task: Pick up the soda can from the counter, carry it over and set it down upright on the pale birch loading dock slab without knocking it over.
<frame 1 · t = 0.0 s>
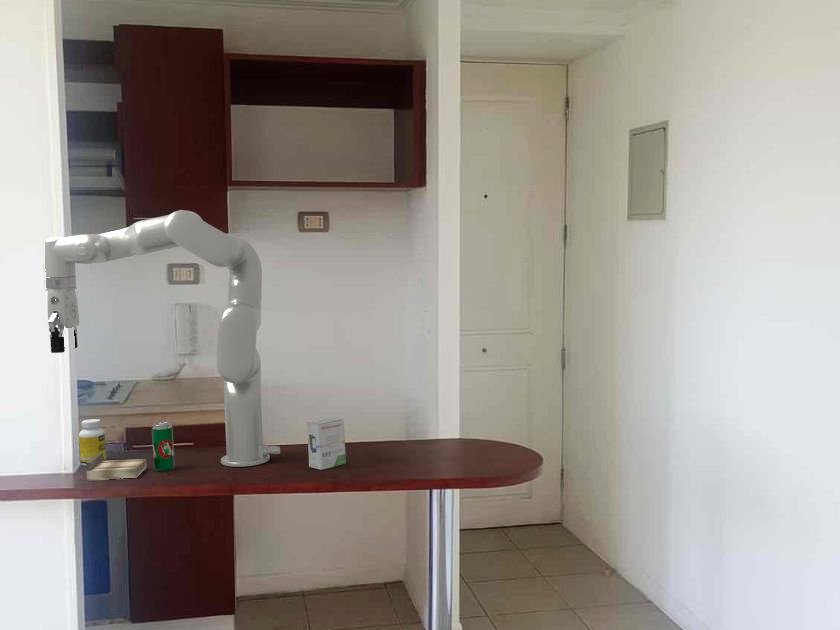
hand: (64, 350, 227), 31 cm above the countertop, fingers open, 9 cm apart
dock: (117, 474, 222), on the countertop
ink box: (327, 466, 225), on the countertop
soda can: (164, 470, 226), on the countertop
pill bottle: (93, 464, 235), on the countertop
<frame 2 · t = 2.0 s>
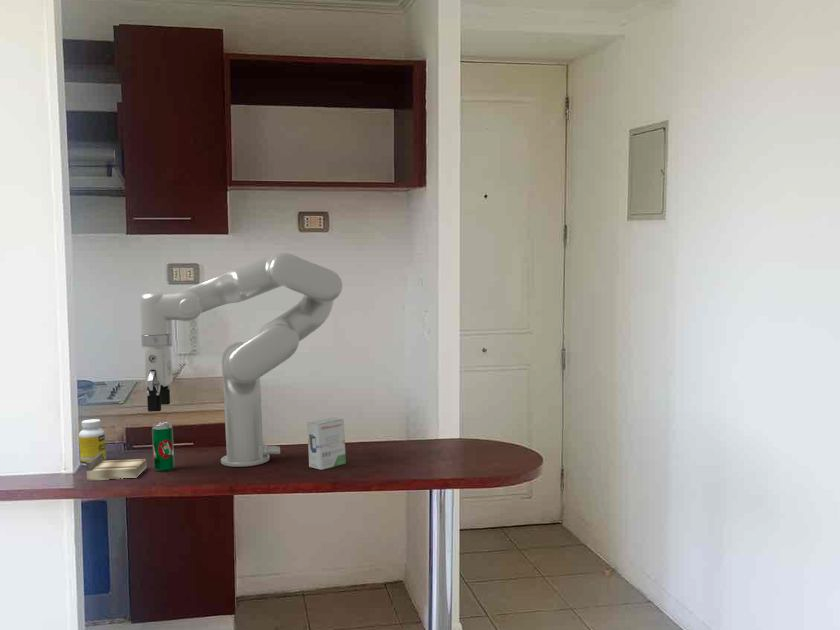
hand: (159, 407, 224), 16 cm above the countertop, fingers open, 9 cm apart
nothing on the countertop moved.
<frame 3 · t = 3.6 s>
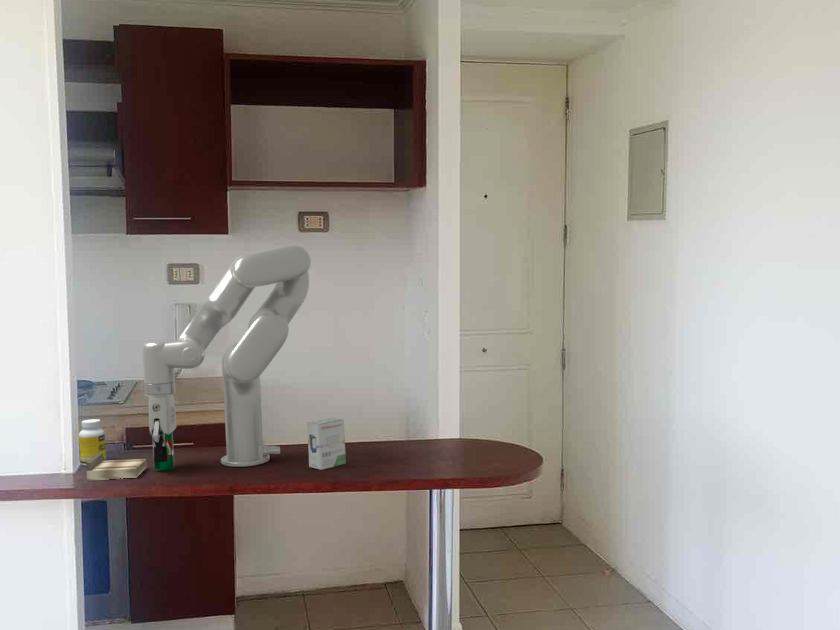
hand: (163, 458, 225), 3 cm above the countertop, fingers closed on soda can, 5 cm apart
soda can: (164, 470, 226), on the countertop, touching gripper
everything else where it was.
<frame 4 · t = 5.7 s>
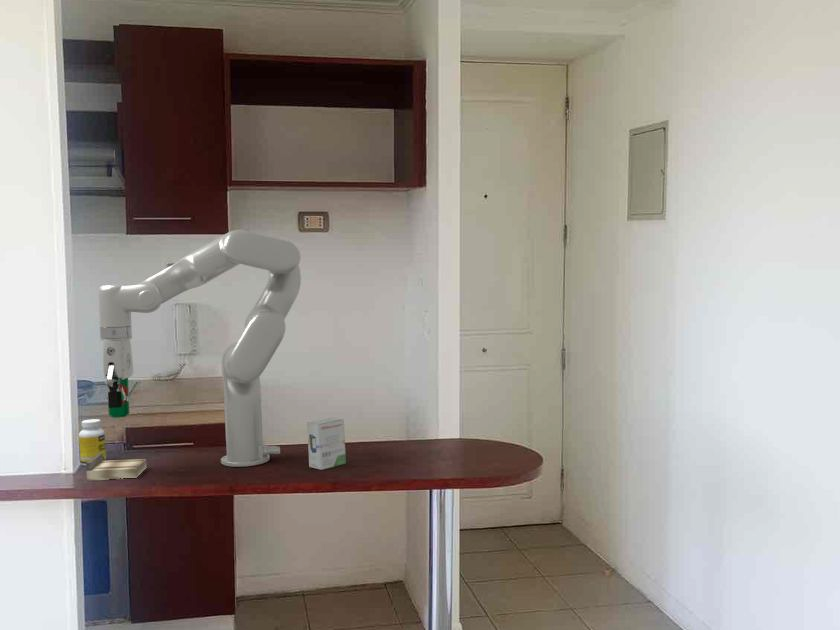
hand: (118, 404, 221), 18 cm above the countertop, fingers closed on soda can, 5 cm apart
soda can: (119, 416, 221), point 15 cm above the countertop, touching gripper
everything else where it was.
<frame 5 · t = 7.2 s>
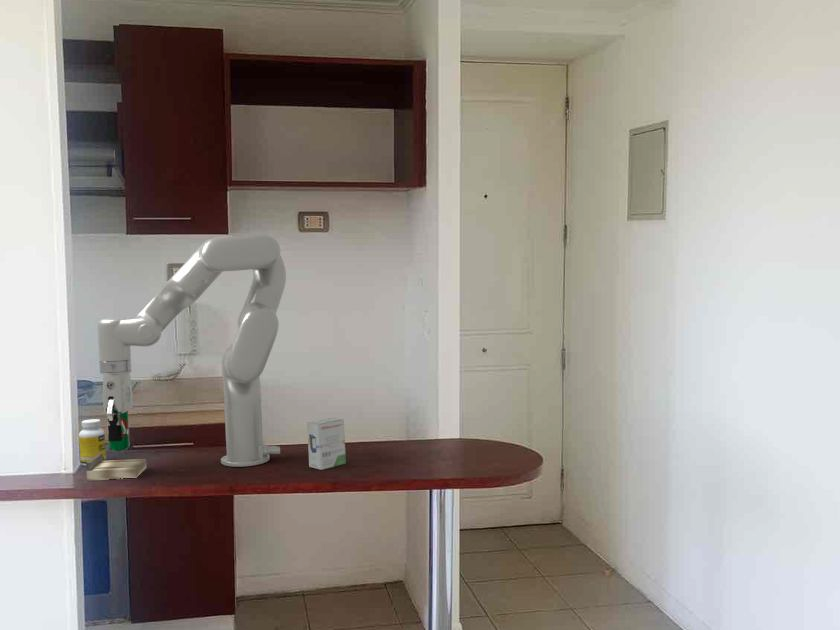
hand: (118, 437, 221), 9 cm above the countertop, fingers closed on soda can, 5 cm apart
soda can: (119, 449, 222), point 6 cm above the countertop, touching gripper
everything else where it was.
when the fingers open (7 cm above the countertop, at t = 8.1 s): soda can drops 1 cm, resting on dock.
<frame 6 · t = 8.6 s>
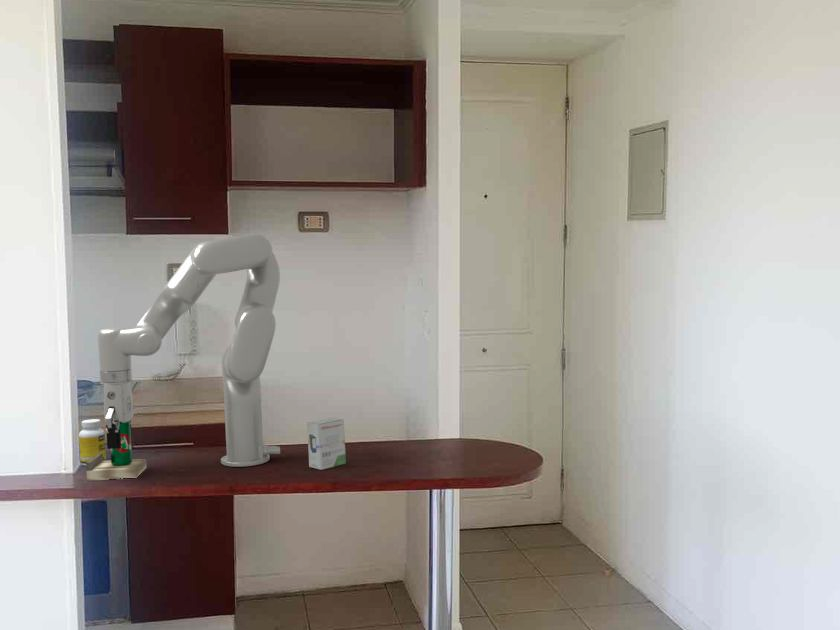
hand: (119, 444, 222), 8 cm above the countertop, fingers open, 9 cm apart
soda can: (121, 465, 222), point 2 cm above the countertop, touching dock
everything else where it was.
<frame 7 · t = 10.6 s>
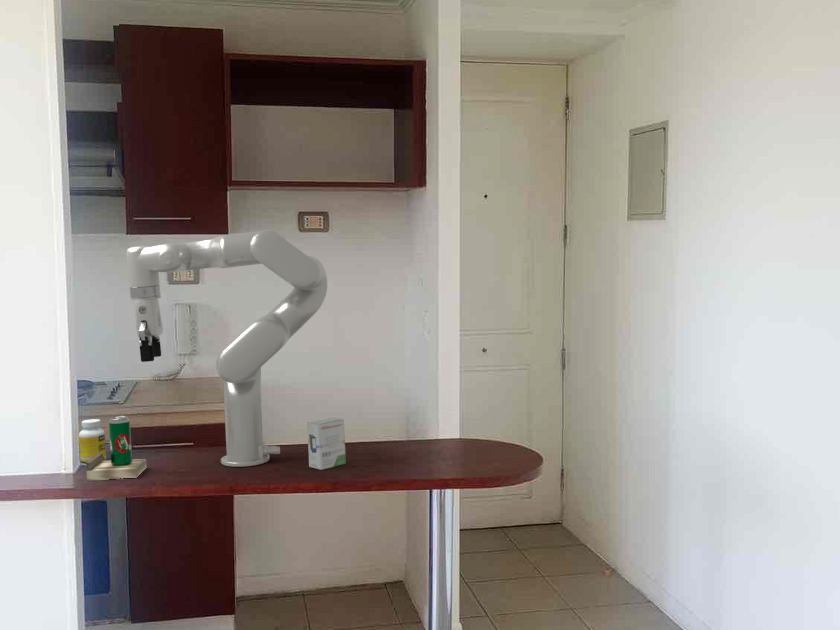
hand: (151, 358, 229), 28 cm above the countertop, fingers open, 9 cm apart
nothing on the countertop moved.
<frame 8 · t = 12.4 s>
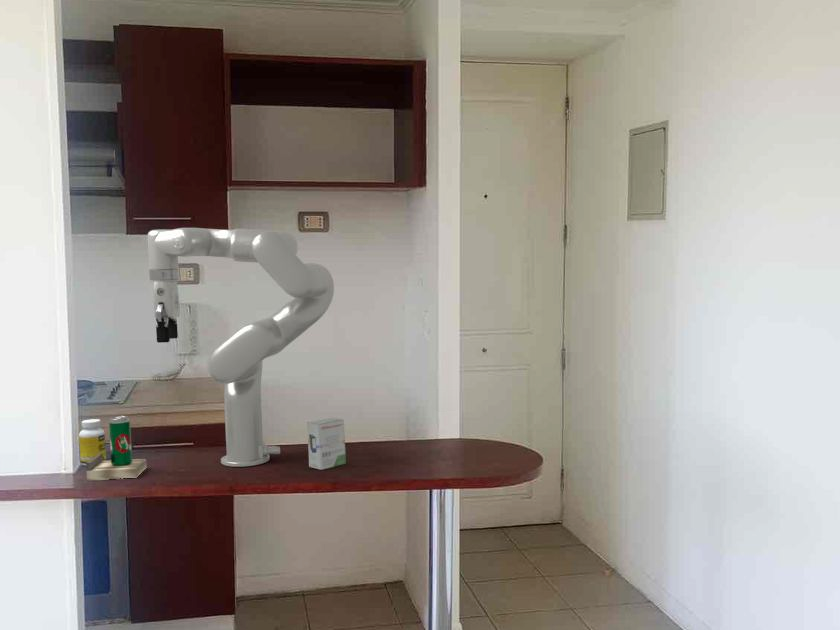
hand: (167, 340, 234), 32 cm above the countertop, fingers open, 9 cm apart
nothing on the countertop moved.
at the end: soda can inside the target area (0.4 cm from its centre), point 2.3 cm above the countertop; soda can touching dock; soda can tilted 0° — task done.
